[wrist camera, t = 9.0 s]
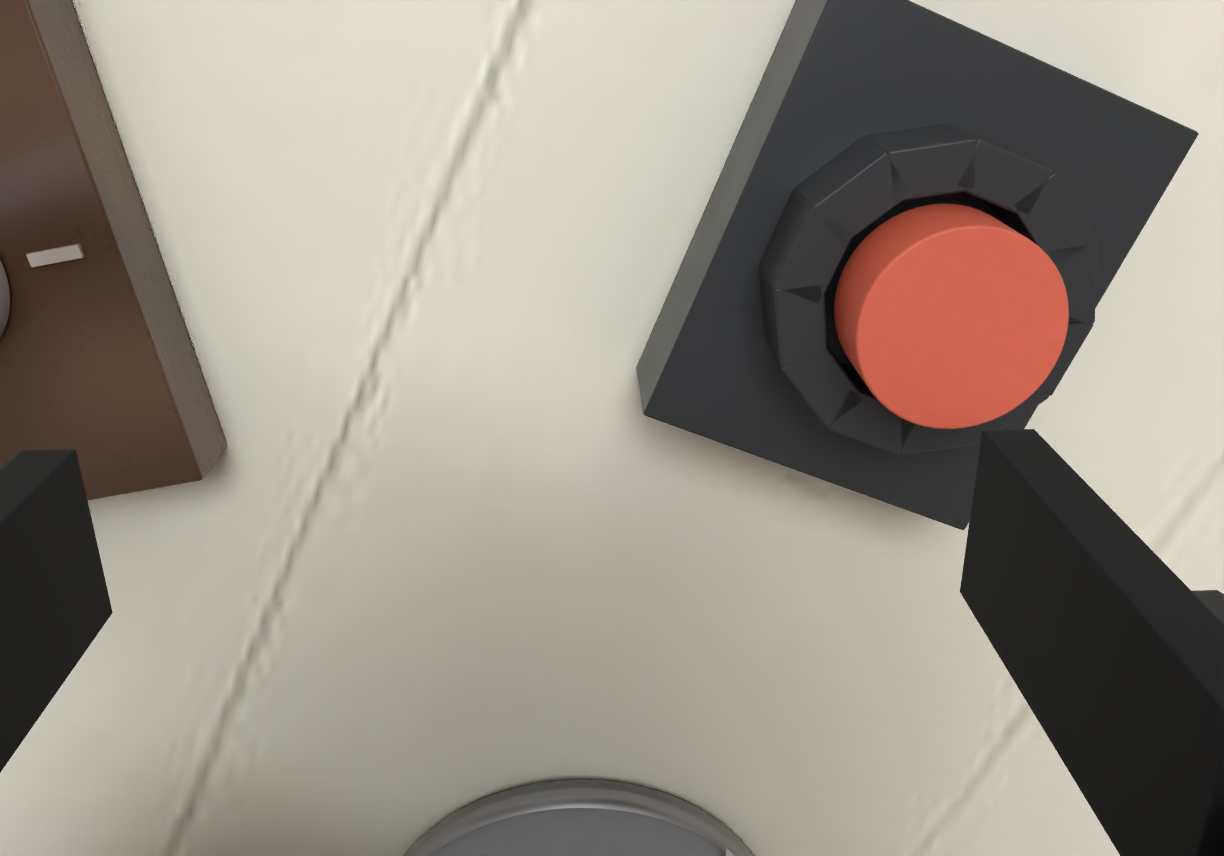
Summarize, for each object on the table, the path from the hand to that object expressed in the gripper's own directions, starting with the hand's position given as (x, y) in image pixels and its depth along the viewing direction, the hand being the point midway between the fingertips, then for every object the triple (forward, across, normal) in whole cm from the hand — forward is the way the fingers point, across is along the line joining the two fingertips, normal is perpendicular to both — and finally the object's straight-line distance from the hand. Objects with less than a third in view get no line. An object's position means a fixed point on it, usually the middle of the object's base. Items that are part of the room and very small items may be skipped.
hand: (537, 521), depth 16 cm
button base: (+17, +9, 0) cm, 19 cm away
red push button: (+11, +9, 0) cm, 14 cm away
